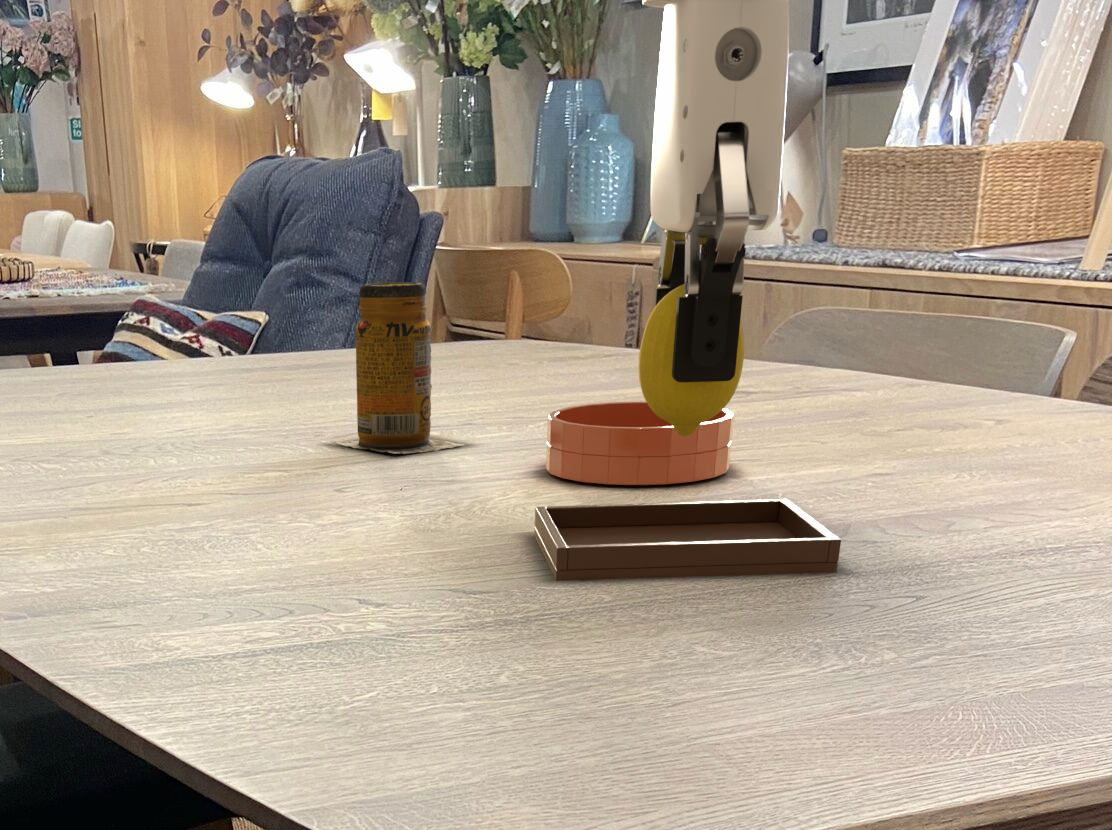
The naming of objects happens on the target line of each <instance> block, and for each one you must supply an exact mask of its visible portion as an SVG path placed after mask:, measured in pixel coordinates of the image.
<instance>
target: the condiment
mask: <svg viewBox="0 0 1112 830" xmlns="http://www.w3.org/2000/svg"><path fill="white" fill-rule="evenodd" d="M358 294H359V307H358V312H359V314H360V315H361V316H360V318H359V320H358V322H357V323H356V325H355V367H356V368H355V372H356V373H355V374H356V375H355V376H356V410H357V411H356V416H357V417H356V419H357V436H358V440H343V441H336V442H335V444H337V445H340V446H344V447H348V448H353V449H358V450H371V451H375V452H379V453H389V454H394V455H395V454H403V455H406V454H415V453H426V452H431V451H435V452H438V451H439V450H443V449H453V448H456V447H461V446H465V444H464V443H461V442H453V441H451V440H449V441H447V440H444V439H430V435H431V427H432V423H431V421H432V420H431V416H432V399H431V397H432V387H433V385H432V380H431V379H432V365H431V363H432V346H431V344H432V341H431V339H432V327H431V323H430V322H429V320H428V318H427V317H426V312H427V303H426V296H425V295H426V294H427V288H426V286H425V284H423V283H422V282H416V281H415V282H414V281H413V282H404V281H403V282H375V283H374V282H372V283H364V284H363V285H361V286H360V288H359V293H358Z"/></svg>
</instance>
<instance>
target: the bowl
mask: <svg viewBox="0 0 1112 830" xmlns="http://www.w3.org/2000/svg"><path fill="white" fill-rule="evenodd" d="M734 419H735V413H734V412H732V411H731V410H729V409H728V408H725V407H724V408H723V409H722V410H721V411H720V412H719V413H718V414H717V415H715V416H714V417H713V418H711V419H709V420H707V421H705V422H703V423H701V424H700V425H699V426H698V428H697V429H696V430H695V431H694V432H693V433H692V434H691V435H689V436H685V437H684V436H681V435H679V434H678V433H677V432H676V431H675V429H674V428H673V426H672V425H671V424H670V423H668V422H667V421H665V420H664V419H662V418H660V417H659V416H657V415H656V414H655V413H654V412H653V410H652V409H651V408H650V407H649V405H648V404H647V402H646V401H613V402H599V403H588V404H581V405H573V406H568V407H563V408H560V409H555V410H553V411H551V412H550V413H549V414H548V415H547V429H546V430H547V432H546V434H547V435H546V459H545V460H546V463H545V464H546V465H545V469H546V471H547V472H548V473H549V474H551V475H553V476H555V477H558V478H560V479H564V480H570V481H574V482H580V483H588V484H599V485H610V486H611V485H613V486H658V485H659V486H661V485H673V484H683V483H693V482H699V481H703V480H708V479H709V480H710V479H714V478H716V477H719V476H721V475H724V474H726V473H727V471H728V470H729V468H730V460H731V448H732V440H733V439H732V438H733V428H734Z"/></svg>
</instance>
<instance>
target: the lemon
mask: <svg viewBox="0 0 1112 830" xmlns="http://www.w3.org/2000/svg"><path fill="white" fill-rule="evenodd" d="M684 287H685V284H683V285H681V286H679V287H677V288H675V289H674V290H672V291H671V292H669V293H668V294H667V295H665V296H664V297H663V298H662V299H661V300H660V301H659V302H658V304H657V305H656V306H655V308H654V307H653V309H652V310H651V312H650V314H649V317H648V319H647V321H646V324H645V327H644V330H643V333H642V337H641V342H640V347H639V353H638V379H639V385H640V389H641V393H642V396H643V398H644V401H645V402H647V404H648V405H649V407H650V408H651V409H652V410H653V412H654V413H655V414H656V415H657V416H659V417H660V418H662V419H664V420H665V421H667V422H668V423H670V424H671V425H672V426H673V428H674V429H675V431H676V432H677V433H678V434H679V435H681V436H684V437H685V436H689V435H691V434H692V433H693V432H694V431H695V430H696V429H697V428H698V426H699V425H700V424H701V423H703V422H705V421H707V420H709V419H711V418H713V417H714V416H715V415H717V414H718V413H719V412H720V411H721V410H722V409H723V408H724V409H725V408H726V407H727V406H728V404H729V403H730V401H731V400H732V398H733V397H734V395H735V393H736V391H737V388H738V386H739V383H740V379H741V376H742V372H743V366H744V360H745V338H744V329H743V323H742V318H740V329H739V339H738V349H737V360H736V370H735V375H734V377H733V378H732V379H731V380H729V381H713V382H677V381H676V380H674V379H673V377H672V364H673V351H674V338H675V325H676V312H677V299H678V297H685V289H684Z"/></svg>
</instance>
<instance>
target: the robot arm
mask: <svg viewBox="0 0 1112 830" xmlns="http://www.w3.org/2000/svg"><path fill="white" fill-rule="evenodd" d="M789 1H790V0H642V5H643V6H646V7H649V8H659V9H660V8H661V9H663V10H664V11H663V18H662V30H661V40H660V50H659V53H658V60H659V61H658V72H657V84H656V95H655V107H654V108H655V109H654V121H653V134H652V135H653V137H652V149H651V166H650V167H651V170H650V194H649V195H650V199H649V200H650V203H649V205H650V215H651V216H650V217H651V219H652V221H653V222H654V223H655V224H656V225H657V226H658V227H659V228H661V229H662V237H661V238H662V239H661V244H660V252H659V259H658V260H659V261H658V268H657V278H656V279H657V287H655V290H654V305H653V309H654V308H655V306H656V305H657V304H658V302H659V301H660V300H661V299H662V298H663V297H664V296H665V295H667V294H668V293H669V292H671V291H672V290H674V289H675V288H677V287H679V286H681V285H683V284H685V287H684V289H685V297H678V299H677V312H676V325H675V338H674V351H673V364H672V377H673V379H674V380H676V381H677V382H713V381H729V380H731V379H732V378H733V377H734V375H735V370H736V360H737V349H738V339H739V329H740V318H741V317H742V306H743V297H744V295H743V294H742V293H743V290H744V281H745V256H746V250H747V249H746V234H747V231H748V230H750V231H751V230H752V231H765V230H767V229H768V228H769V227H770V226H771V225H772V224H773V223H774V222H775V220H777V217H778V214H779V208H780V207H779V206H780V199H781V198H780V196H781V182H782V168H783V156H784V155H783V154H784V139H785V125H786V123H785V122H786V109H787V108H786V107H787V91H788V74H789V52H790V51H789V48H790V47H789V46H790V5H789ZM741 319H742V318H741Z"/></svg>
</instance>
